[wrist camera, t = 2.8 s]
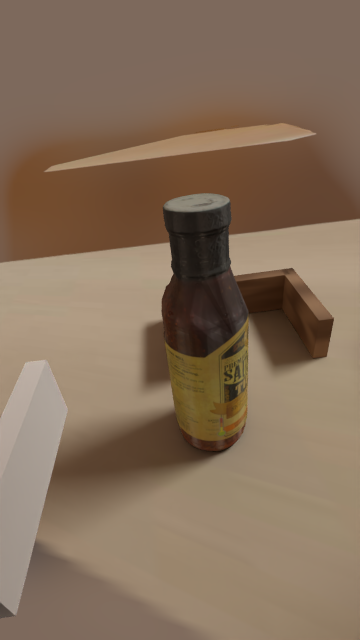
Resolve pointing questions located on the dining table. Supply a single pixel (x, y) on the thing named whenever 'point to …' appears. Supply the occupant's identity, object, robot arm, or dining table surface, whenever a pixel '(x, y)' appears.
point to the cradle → (289, 305)
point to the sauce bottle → (205, 324)
